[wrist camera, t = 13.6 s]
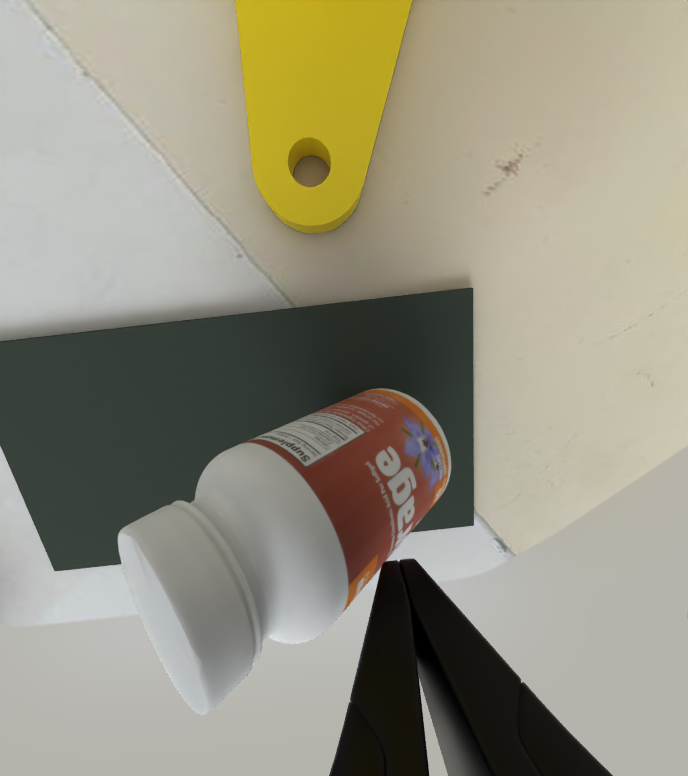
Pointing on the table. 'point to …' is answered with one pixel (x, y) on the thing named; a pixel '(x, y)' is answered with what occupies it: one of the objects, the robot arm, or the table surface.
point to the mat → (215, 405)
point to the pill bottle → (281, 536)
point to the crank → (316, 97)
